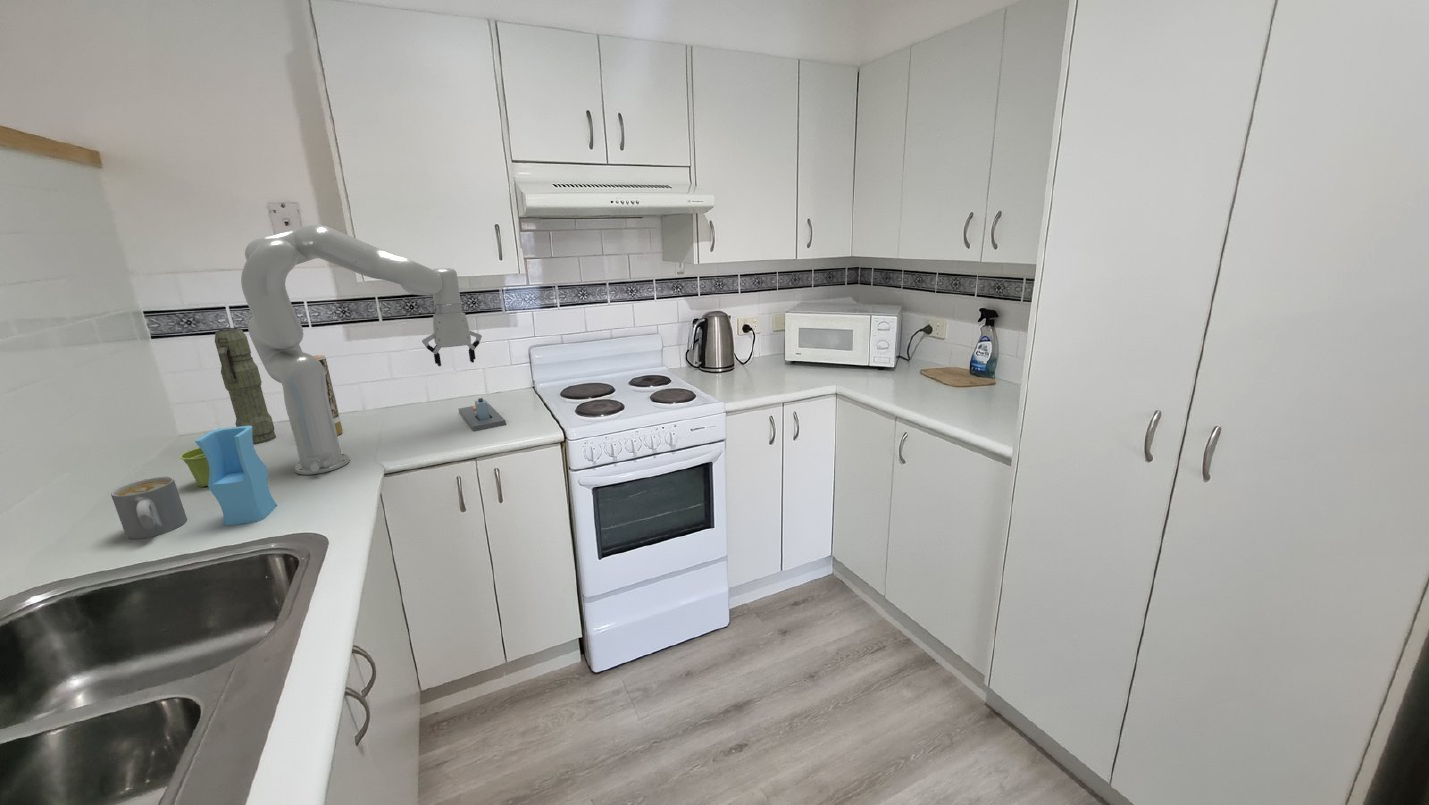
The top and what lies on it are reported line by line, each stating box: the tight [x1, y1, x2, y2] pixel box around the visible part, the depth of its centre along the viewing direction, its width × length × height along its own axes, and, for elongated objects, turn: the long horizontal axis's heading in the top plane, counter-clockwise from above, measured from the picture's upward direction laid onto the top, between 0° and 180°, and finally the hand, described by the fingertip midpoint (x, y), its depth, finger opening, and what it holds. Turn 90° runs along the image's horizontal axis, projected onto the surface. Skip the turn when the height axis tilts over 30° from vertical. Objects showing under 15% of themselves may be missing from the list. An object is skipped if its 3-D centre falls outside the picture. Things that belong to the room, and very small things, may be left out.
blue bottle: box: [474, 397, 490, 421], centre depth 191 cm, size 4×3×8 cm
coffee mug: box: [110, 476, 188, 540], centre depth 125 cm, size 13×10×10 cm
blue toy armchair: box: [194, 426, 278, 527], centre depth 129 cm, size 8×8×20 cm
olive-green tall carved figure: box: [214, 327, 277, 445], centre depth 177 cm, size 9×12×35 cm
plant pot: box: [179, 447, 209, 488], centre depth 150 cm, size 9×9×9 cm
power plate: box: [458, 402, 507, 432], centre depth 195 cm, size 24×10×2 cm, turn 33°
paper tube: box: [313, 354, 343, 436], centre depth 181 cm, size 7×7×25 cm
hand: (456, 363), depth 184 cm, fingers open, 9 cm apart
